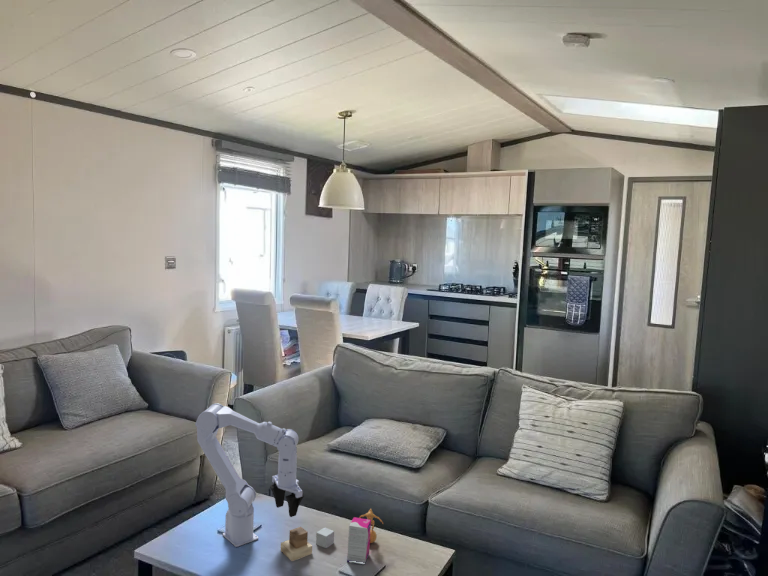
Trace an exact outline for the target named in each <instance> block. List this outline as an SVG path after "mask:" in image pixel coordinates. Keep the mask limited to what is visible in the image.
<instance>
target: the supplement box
mask: <svg viewBox="0 0 768 576" xmlns="http://www.w3.org/2000/svg"><path fill="white" fill-rule="evenodd" d="M370 530H372V524H371V520H368V519H367V518H363V517H361V518H359V517H355V516H354V517H353V518H352V520H351V521H350V524H349V526H348V539H347V541H348V542H347V553H346V554H347V556H346V562H347V563H349V561H356V562H363V563H365V562H366V563H367V560H366V559H368V558H369V555H370V546H371V545H370V544H371V543H370ZM366 563H365V564H366Z"/></svg>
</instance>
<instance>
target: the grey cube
mask: <svg viewBox="0 0 768 576" xmlns="http://www.w3.org/2000/svg"><path fill="white" fill-rule="evenodd" d="M315 533H316V536H315V537H316V538H315V539H316V541H315V545H317V546H319V547H322V548H324V549H327V548H329V547H330V546H332V545H333V544H334V543H335V531H334V530H332V529H330V528H327V527H323V528H321V529H320V530H318V531H316V532H315Z"/></svg>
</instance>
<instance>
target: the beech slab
mask: <svg viewBox="0 0 768 576" xmlns="http://www.w3.org/2000/svg"><path fill="white" fill-rule="evenodd" d="M280 552H281V553H282V552H283V553H282V554H283V555H284V556H286V558H287V559H289V560H290V561H291V562H295V561H297V560H299V559H302V558H304V557H307V556H310V555H312V554H313V545H312V544H311V543H310V542H309V541H307V545H305V546H302V547H299V548H297V549H296V548H295V547H293V546H292V545H291V544H290V543H289V539H288V540H285V541H282V542H280Z"/></svg>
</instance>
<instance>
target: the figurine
mask: <svg viewBox="0 0 768 576" xmlns="http://www.w3.org/2000/svg"><path fill="white" fill-rule="evenodd" d="M364 517H366V519H368V520H371V530H370V544H373V543H374V542H376V540H377V532H376V531H375V530H374V528H375V527H374V526H375V520H373V518H375V519H376V520H379V521H380V523H382V525H384V522H383V520H382V519H381V518H380V517H379V516H377V515H375V514H374V512H373V510H372V508H370V509H369V510H368V512H366V513H365V514H361V515H359V517H358V518H364Z"/></svg>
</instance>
